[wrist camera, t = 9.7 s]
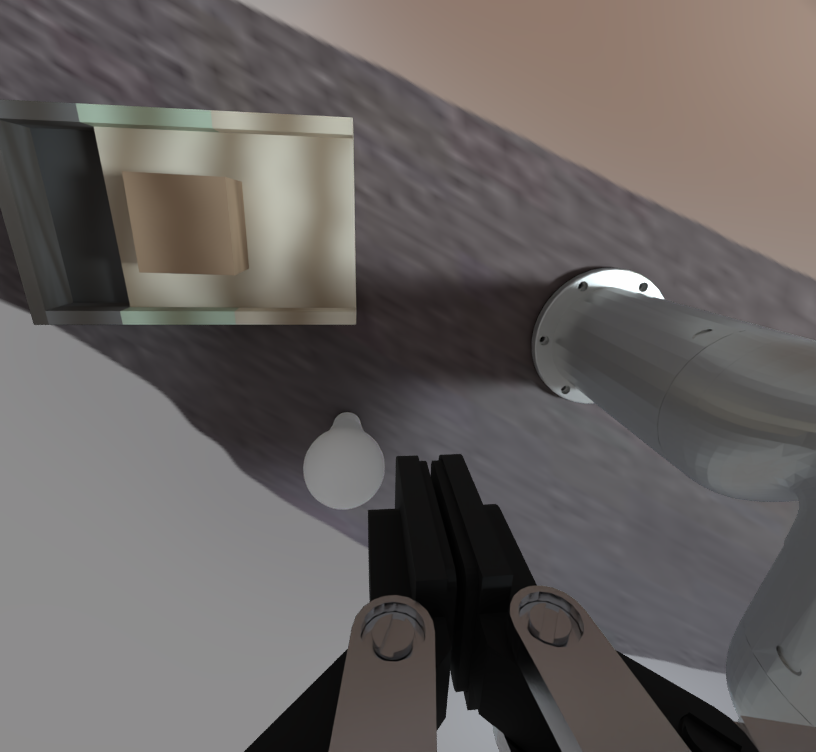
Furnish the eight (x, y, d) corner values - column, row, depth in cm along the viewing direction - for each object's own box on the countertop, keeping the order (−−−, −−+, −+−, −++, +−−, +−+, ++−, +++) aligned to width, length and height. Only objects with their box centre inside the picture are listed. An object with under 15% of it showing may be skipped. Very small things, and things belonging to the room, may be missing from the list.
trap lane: (353, 127, 31) (352, 117, 28) (356, 314, 36) (356, 324, 33) (12, 111, 29) (-32, 97, 26) (65, 314, 34) (33, 324, 31)
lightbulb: (330, 379, 38) (320, 439, 28) (391, 406, 40) (402, 472, 29) (303, 434, 40) (284, 510, 30) (362, 458, 41) (363, 538, 31)
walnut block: (241, 181, 30) (225, 177, 26) (249, 268, 32) (234, 275, 28) (152, 176, 29) (121, 171, 26) (165, 265, 32) (139, 272, 28)
